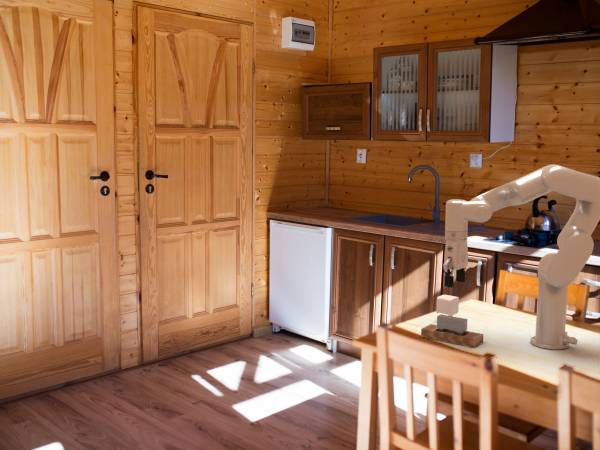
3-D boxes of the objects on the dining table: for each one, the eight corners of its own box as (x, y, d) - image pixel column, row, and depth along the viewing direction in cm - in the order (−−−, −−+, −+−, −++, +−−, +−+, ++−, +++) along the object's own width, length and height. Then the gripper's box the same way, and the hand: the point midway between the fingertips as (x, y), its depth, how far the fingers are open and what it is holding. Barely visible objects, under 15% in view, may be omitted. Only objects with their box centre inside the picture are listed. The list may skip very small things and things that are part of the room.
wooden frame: (483, 342, 240) (483, 334, 240) (474, 348, 234) (475, 339, 234) (430, 332, 252) (430, 324, 251) (421, 337, 246) (421, 328, 245)
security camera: (443, 319, 269) (444, 294, 267) (460, 322, 264) (461, 297, 263) (435, 322, 264) (436, 297, 262) (452, 326, 259) (453, 300, 258)
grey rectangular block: (466, 341, 241) (467, 319, 240) (463, 343, 239) (464, 321, 238) (439, 336, 247) (440, 314, 246) (436, 338, 245) (437, 316, 244)
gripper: (456, 240, 229) (454, 290, 231) (476, 233, 242) (474, 281, 245) (435, 237, 233) (433, 287, 235) (456, 231, 247) (454, 278, 249)
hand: (454, 284), depth 240 cm, fingers open, 9 cm apart
